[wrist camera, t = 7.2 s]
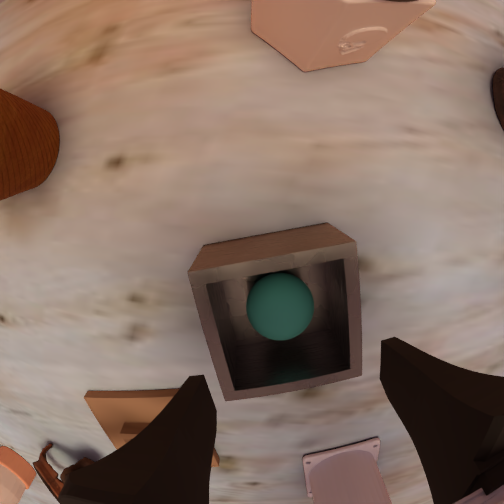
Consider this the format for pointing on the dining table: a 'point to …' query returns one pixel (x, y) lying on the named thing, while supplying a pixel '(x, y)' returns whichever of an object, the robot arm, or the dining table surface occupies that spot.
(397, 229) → the dining table surface
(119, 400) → the stand
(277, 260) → the open box
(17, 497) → the salt shaker
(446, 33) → the dining table surface
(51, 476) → the pottery mug
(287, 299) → the ball
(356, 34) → the jar
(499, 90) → the mortar and pestle
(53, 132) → the disposable coffee cup
